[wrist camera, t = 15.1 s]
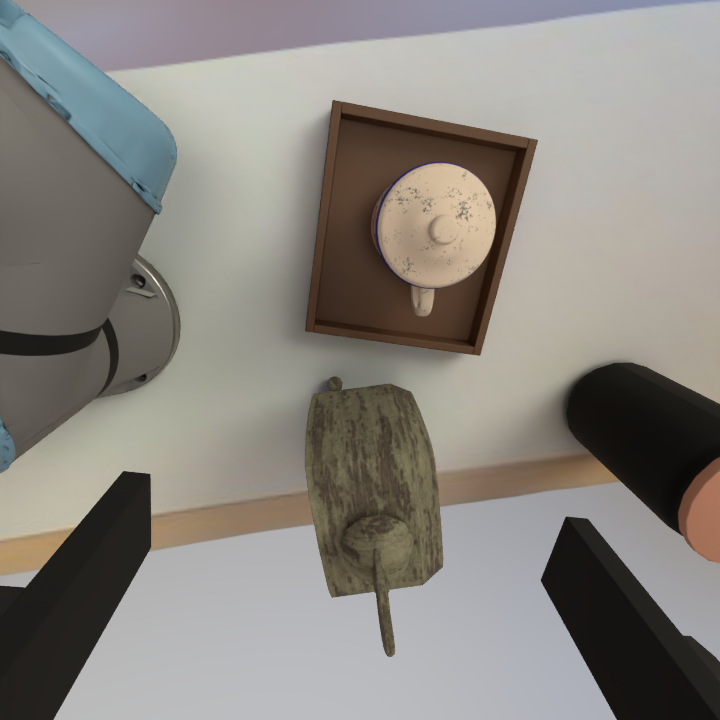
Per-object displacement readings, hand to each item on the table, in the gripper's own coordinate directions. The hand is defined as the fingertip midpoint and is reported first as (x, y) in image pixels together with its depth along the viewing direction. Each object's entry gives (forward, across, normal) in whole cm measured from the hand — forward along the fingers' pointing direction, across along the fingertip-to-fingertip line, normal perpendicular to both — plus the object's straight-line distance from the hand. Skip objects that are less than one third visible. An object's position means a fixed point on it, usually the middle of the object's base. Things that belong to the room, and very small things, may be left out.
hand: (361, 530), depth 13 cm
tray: (+31, +5, +8) cm, 32 cm away
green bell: (+31, +4, -12) cm, 33 cm away
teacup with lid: (+30, +6, +8) cm, 32 cm away
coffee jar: (+31, +31, -6) cm, 44 cm away
